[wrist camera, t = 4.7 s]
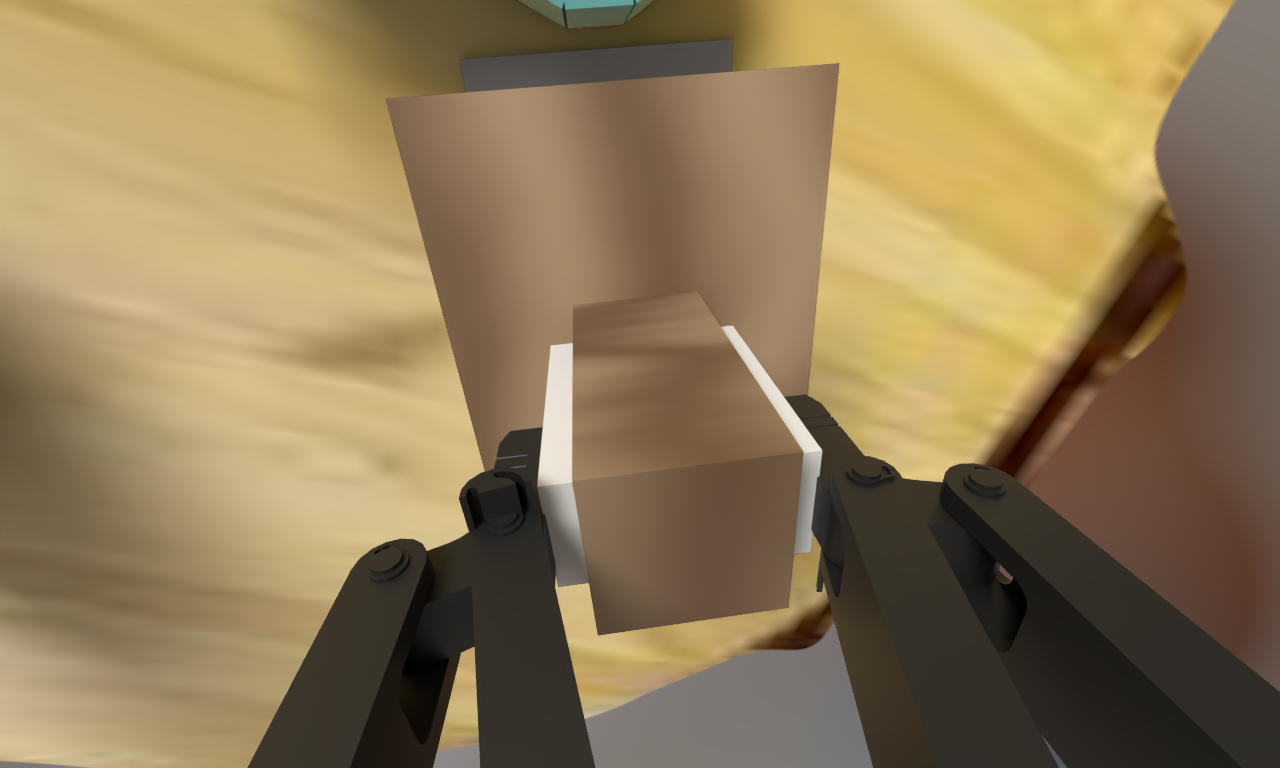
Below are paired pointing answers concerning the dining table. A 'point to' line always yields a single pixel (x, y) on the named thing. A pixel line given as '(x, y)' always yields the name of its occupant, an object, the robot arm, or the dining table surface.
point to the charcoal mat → (596, 65)
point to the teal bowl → (588, 11)
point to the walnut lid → (640, 308)
